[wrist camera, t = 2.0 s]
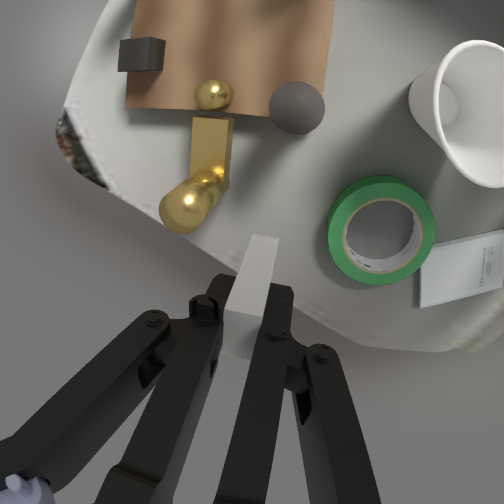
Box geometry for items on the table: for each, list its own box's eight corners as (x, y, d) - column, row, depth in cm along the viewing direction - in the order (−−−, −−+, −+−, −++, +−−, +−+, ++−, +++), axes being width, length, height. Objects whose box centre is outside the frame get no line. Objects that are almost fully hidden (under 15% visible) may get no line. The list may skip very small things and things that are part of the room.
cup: (489, 92, 19) (558, 103, 10) (452, 170, 24) (509, 214, 15) (409, 34, 19) (460, 9, 9) (371, 120, 24) (407, 137, 15)
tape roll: (305, 217, 30) (304, 228, 28) (392, 153, 25) (399, 159, 23) (363, 287, 33) (366, 302, 31) (442, 236, 28) (451, 248, 26)
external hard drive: (416, 244, 30) (503, 226, 26) (417, 301, 33) (497, 282, 29) (420, 252, 28) (510, 232, 24) (420, 310, 32) (502, 289, 28)
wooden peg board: (337, -43, 16) (346, -98, 7) (316, 122, 25) (320, 138, 16) (157, -43, 18) (100, -75, 9) (138, 106, 27) (71, 120, 18)
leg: (203, 80, 22) (162, 78, 16) (239, 82, 22) (210, 78, 15) (195, 194, 28) (159, 229, 21) (228, 199, 28) (200, 237, 21)
